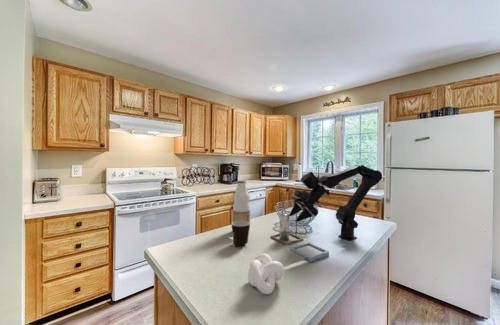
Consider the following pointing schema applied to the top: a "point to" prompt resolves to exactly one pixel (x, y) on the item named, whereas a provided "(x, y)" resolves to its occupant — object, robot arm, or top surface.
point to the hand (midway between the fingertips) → (293, 218)
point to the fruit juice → (241, 203)
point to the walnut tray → (291, 240)
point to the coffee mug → (240, 233)
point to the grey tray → (312, 258)
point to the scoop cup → (284, 227)
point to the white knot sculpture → (265, 273)
